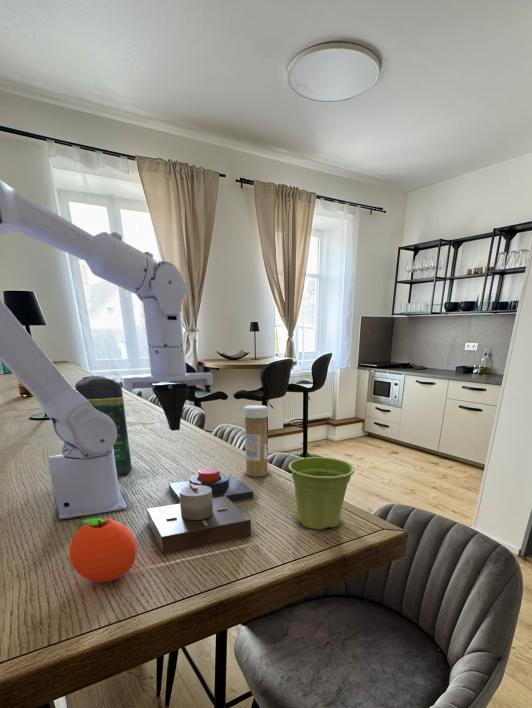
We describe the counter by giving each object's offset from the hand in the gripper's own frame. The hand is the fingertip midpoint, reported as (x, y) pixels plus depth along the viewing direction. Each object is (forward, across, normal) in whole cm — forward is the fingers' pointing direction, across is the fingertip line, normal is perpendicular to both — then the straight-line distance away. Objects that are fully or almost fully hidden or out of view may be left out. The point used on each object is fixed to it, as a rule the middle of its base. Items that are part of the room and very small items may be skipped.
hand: (174, 429), depth 72 cm
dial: (+8, -2, -20) cm, 22 cm away
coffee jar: (+10, -10, +14) cm, 20 cm away
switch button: (+8, +4, -7) cm, 11 cm away
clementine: (+10, -16, -27) cm, 33 cm away
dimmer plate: (+10, -2, -20) cm, 23 cm away
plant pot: (+11, +14, -25) cm, 31 cm away
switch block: (+10, +4, -7) cm, 13 cm away
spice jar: (+11, +16, 0) cm, 19 cm away
